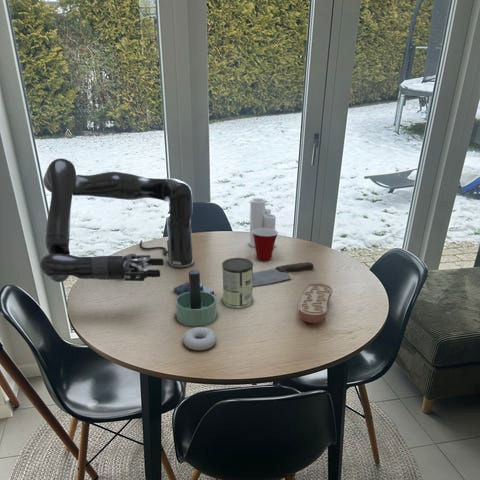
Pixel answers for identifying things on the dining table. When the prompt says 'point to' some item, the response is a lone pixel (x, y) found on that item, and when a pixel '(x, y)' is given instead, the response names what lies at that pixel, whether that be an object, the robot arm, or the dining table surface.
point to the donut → (199, 344)
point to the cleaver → (278, 273)
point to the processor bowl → (196, 310)
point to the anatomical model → (314, 302)
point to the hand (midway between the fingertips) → (161, 267)
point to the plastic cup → (264, 242)
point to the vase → (260, 217)
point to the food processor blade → (194, 290)
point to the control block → (185, 288)
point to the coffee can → (237, 282)
